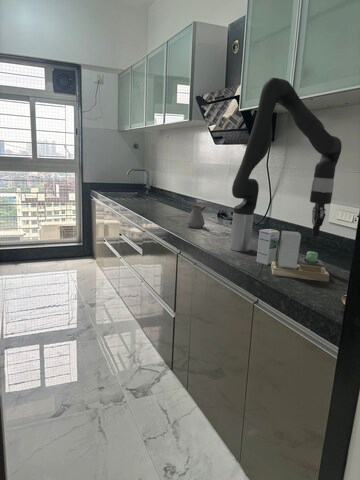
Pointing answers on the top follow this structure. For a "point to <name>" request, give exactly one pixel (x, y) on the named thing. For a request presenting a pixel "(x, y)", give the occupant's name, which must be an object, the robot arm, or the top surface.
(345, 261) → the top surface
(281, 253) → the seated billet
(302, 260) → the dark grey square block
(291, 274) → the wooden tray
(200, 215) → the coffee pot
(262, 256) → the syrup box
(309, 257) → the button
